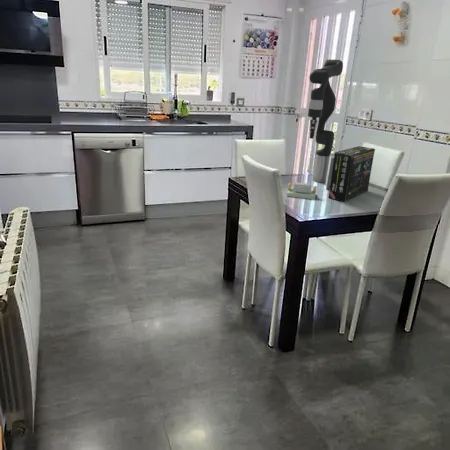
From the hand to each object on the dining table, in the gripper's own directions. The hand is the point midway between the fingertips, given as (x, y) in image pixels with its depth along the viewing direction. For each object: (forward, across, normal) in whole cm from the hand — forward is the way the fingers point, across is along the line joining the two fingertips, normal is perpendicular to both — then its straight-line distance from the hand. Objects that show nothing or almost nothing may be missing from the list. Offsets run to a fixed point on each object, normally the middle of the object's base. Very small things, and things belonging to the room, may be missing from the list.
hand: (311, 137), depth 229 cm
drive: (+32, +10, -2) cm, 33 cm away
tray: (+32, +10, -2) cm, 34 cm away
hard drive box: (+32, -18, +16) cm, 40 cm away
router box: (+32, -5, +26) cm, 42 cm away
